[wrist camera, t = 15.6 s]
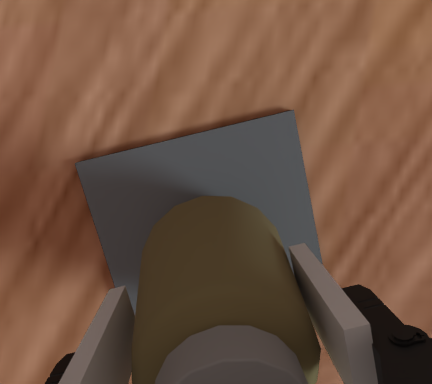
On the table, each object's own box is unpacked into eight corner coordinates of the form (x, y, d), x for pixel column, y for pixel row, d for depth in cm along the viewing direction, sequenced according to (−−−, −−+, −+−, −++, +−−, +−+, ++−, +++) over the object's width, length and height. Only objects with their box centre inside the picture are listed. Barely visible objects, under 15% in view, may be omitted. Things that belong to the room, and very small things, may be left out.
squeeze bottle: (138, 285, 24) (-18, 774, 6) (162, 168, 22) (43, 389, 5) (254, 306, 25) (401, 788, 7) (285, 196, 23) (578, 469, 5)
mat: (291, 110, 22) (293, 110, 22) (327, 305, 25) (330, 309, 25) (77, 161, 23) (74, 163, 22) (138, 349, 26) (137, 355, 25)
